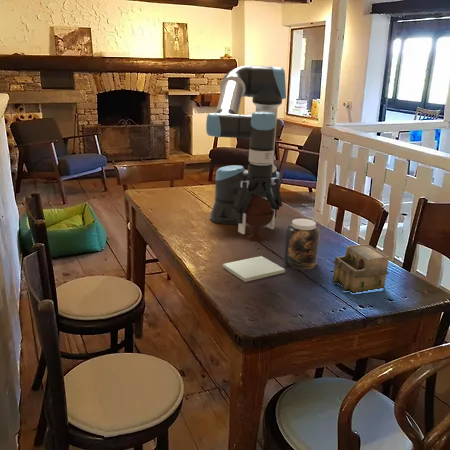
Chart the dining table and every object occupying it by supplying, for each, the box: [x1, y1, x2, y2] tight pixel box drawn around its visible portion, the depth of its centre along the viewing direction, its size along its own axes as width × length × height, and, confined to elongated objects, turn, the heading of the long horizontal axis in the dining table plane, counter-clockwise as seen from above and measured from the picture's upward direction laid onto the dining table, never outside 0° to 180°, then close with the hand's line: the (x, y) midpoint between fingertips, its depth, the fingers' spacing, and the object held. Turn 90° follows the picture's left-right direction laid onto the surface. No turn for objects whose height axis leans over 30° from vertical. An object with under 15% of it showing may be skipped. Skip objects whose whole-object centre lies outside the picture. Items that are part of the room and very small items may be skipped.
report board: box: [222, 255, 286, 283], centre depth 164 cm, size 16×13×1 cm
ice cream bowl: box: [244, 194, 274, 243], centre depth 159 cm, size 11×11×15 cm
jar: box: [283, 218, 321, 271], centre depth 169 cm, size 12×12×15 cm
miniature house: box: [331, 243, 390, 293], centre depth 156 cm, size 15×14×11 cm
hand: (256, 230), depth 160 cm, fingers closed on ice cream bowl, 11 cm apart
